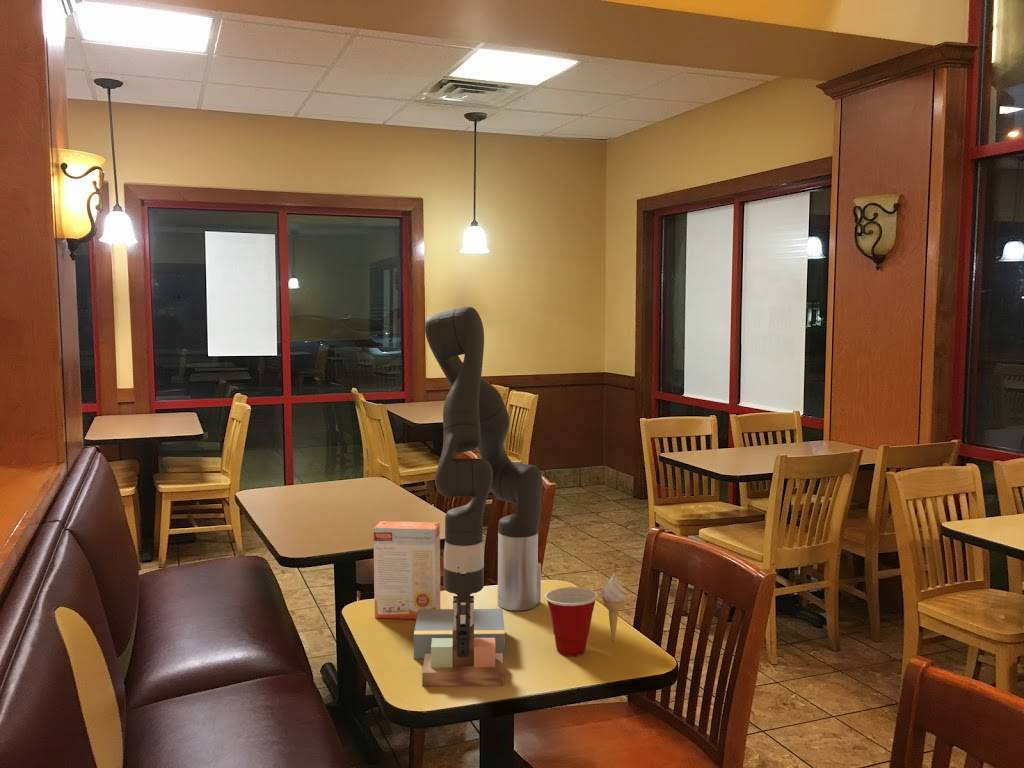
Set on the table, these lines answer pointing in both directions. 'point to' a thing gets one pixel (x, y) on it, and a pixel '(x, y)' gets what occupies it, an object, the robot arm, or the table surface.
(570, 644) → the plastic cup
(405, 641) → the table surface
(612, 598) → the ice cream cone
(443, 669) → the pallet
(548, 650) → the table surface
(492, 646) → the block
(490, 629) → the dock
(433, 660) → the pale green cube
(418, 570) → the cracker box
